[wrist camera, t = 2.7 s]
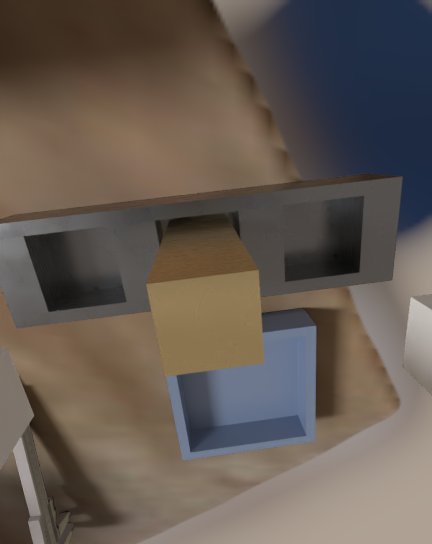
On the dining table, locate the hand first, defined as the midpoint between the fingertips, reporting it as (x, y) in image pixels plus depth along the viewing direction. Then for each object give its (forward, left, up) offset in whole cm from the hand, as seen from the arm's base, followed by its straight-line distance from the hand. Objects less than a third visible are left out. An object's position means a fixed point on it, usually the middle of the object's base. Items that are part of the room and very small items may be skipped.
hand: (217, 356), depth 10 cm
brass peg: (0, 0, -14) cm, 14 cm away
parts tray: (+13, +2, -15) cm, 19 cm away
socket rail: (0, 0, -15) cm, 15 cm away
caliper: (+20, -18, -15) cm, 31 cm away
